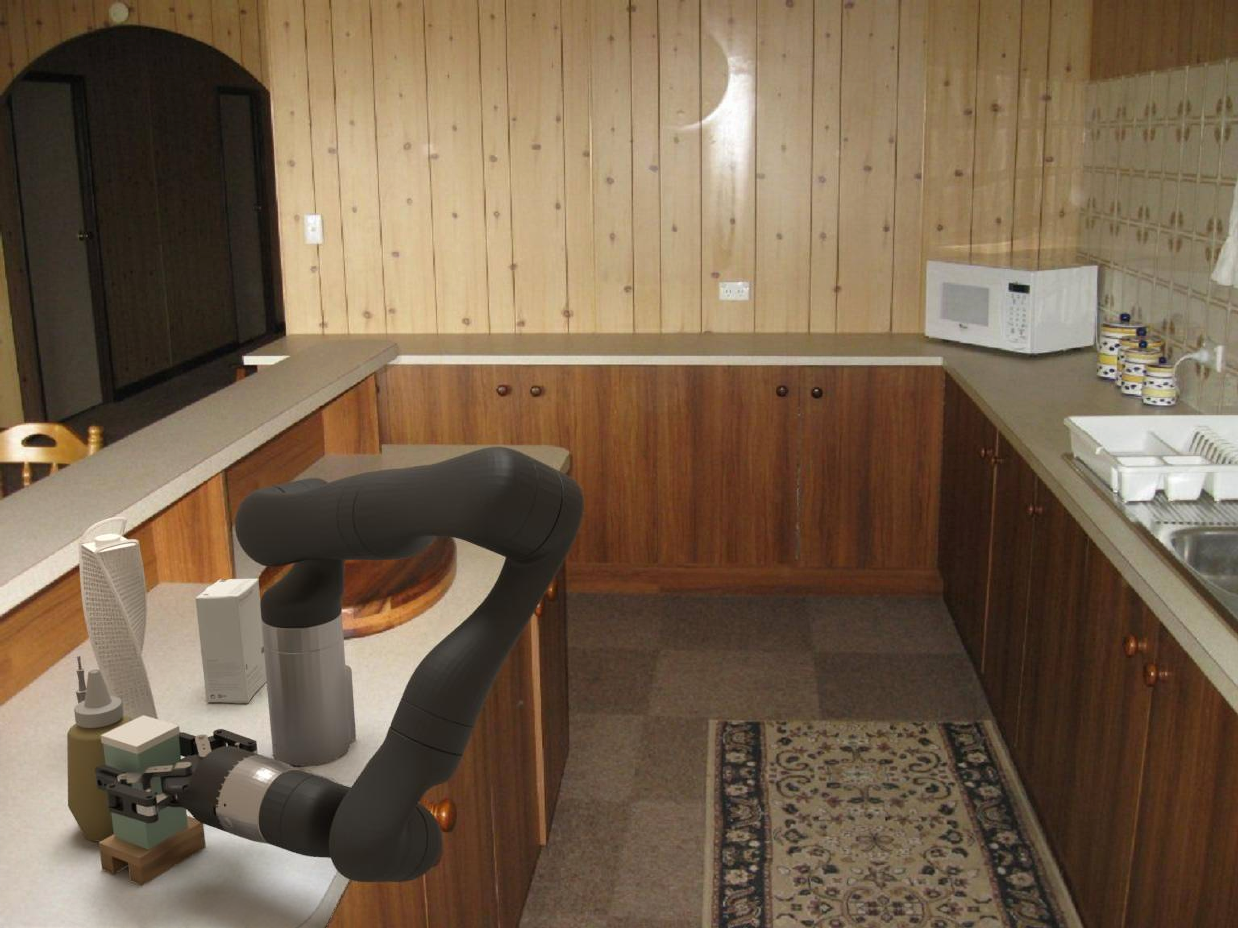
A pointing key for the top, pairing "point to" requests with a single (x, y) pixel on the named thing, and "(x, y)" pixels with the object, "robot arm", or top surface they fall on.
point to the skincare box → (231, 640)
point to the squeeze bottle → (91, 757)
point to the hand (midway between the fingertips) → (134, 757)
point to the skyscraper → (116, 617)
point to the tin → (133, 753)
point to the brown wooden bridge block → (152, 853)
